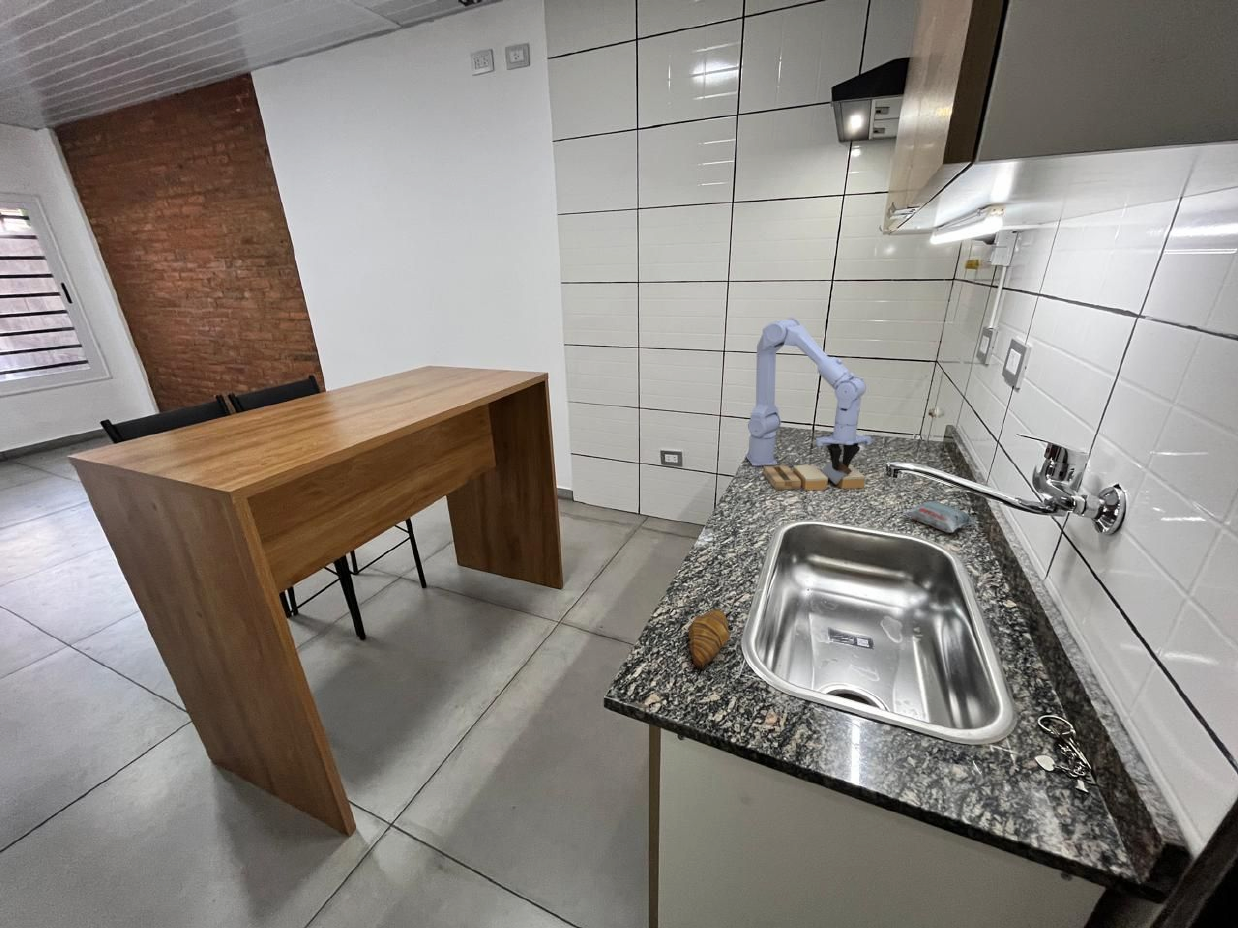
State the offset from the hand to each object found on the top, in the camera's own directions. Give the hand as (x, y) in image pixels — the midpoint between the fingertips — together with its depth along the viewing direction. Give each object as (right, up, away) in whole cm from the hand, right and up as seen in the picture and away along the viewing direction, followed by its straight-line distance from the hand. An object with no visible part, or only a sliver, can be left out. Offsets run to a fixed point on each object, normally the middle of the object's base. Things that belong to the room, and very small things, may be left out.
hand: (839, 468), depth 137 cm
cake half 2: (+2, -4, +2) cm, 4 cm away
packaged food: (+12, -13, -24) cm, 30 cm away
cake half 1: (-8, -4, +2) cm, 9 cm away
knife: (-3, -3, +1) cm, 4 cm away
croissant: (-48, -29, -56) cm, 79 cm away
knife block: (-15, -4, +3) cm, 16 cm away
